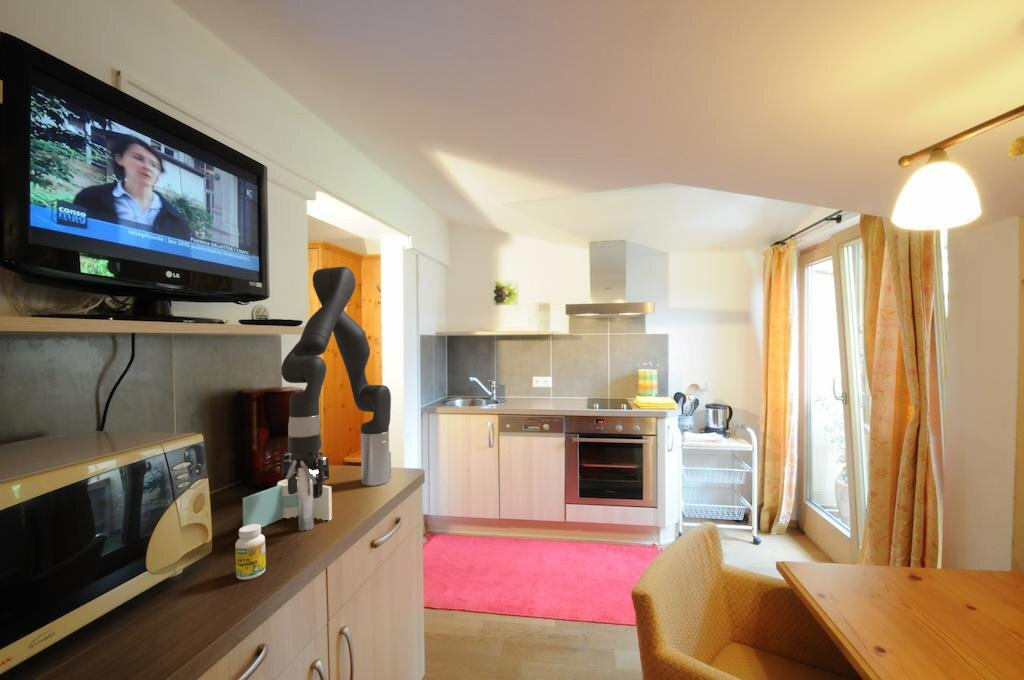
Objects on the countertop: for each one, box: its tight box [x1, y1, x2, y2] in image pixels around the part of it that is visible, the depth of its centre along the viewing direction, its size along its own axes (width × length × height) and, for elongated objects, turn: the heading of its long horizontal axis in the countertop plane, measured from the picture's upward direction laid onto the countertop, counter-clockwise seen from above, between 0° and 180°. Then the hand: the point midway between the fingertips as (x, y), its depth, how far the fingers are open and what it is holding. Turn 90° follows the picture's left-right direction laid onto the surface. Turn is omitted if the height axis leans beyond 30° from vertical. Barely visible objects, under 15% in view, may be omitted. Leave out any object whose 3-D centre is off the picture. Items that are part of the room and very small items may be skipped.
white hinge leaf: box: [276, 476, 333, 522], centre depth 123 cm, size 7×18×9 cm, turn 67°
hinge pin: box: [297, 467, 315, 532], centre depth 115 cm, size 4×4×16 cm
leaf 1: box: [242, 485, 299, 528], centre depth 120 cm, size 18×7×9 cm, turn 157°
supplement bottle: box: [234, 524, 267, 581], centre depth 92 cm, size 5×5×10 cm
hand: (304, 495), depth 114 cm, fingers open, 8 cm apart
